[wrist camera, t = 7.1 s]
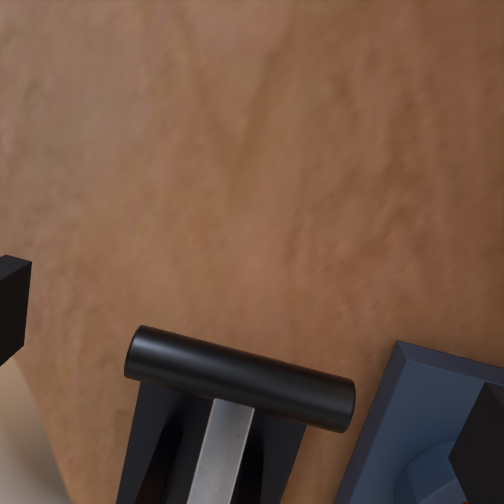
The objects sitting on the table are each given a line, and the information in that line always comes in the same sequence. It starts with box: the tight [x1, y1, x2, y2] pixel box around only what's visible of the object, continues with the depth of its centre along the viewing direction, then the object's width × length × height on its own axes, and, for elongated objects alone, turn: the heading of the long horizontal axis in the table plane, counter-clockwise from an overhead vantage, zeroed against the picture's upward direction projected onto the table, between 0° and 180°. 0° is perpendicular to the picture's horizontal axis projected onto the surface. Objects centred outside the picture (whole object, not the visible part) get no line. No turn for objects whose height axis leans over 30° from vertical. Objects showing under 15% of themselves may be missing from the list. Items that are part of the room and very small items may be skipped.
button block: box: [333, 341, 504, 504], centre depth 21 cm, size 12×10×4 cm
